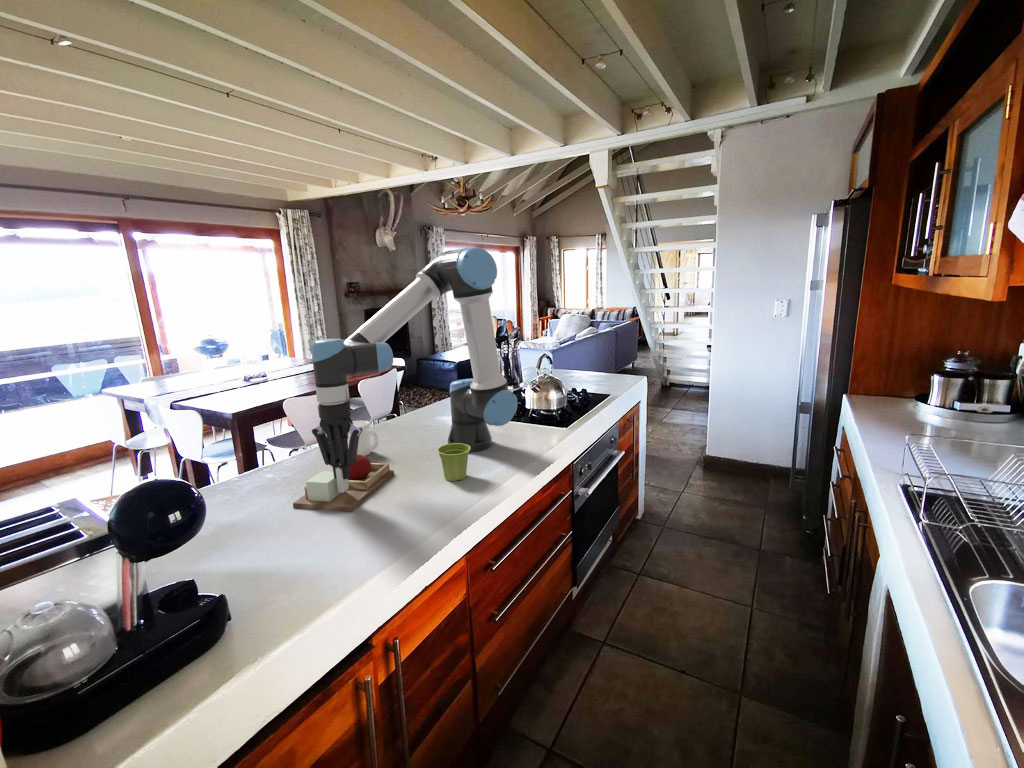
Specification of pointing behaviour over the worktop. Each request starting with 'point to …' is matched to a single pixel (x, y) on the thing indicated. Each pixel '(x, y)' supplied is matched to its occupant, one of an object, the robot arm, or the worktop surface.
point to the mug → (364, 438)
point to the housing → (322, 487)
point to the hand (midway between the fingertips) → (343, 490)
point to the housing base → (350, 491)
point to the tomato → (360, 468)
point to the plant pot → (454, 460)
